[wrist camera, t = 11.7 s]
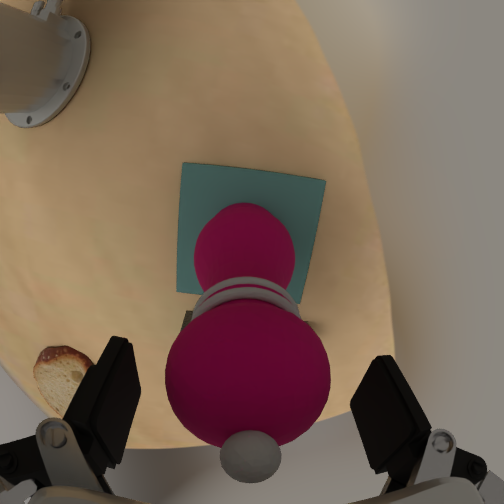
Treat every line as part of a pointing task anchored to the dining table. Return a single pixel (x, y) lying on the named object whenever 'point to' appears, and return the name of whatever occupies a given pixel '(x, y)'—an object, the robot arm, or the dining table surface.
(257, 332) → the pepper mill
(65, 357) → the bread slice
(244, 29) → the dining table surface
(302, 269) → the mat
